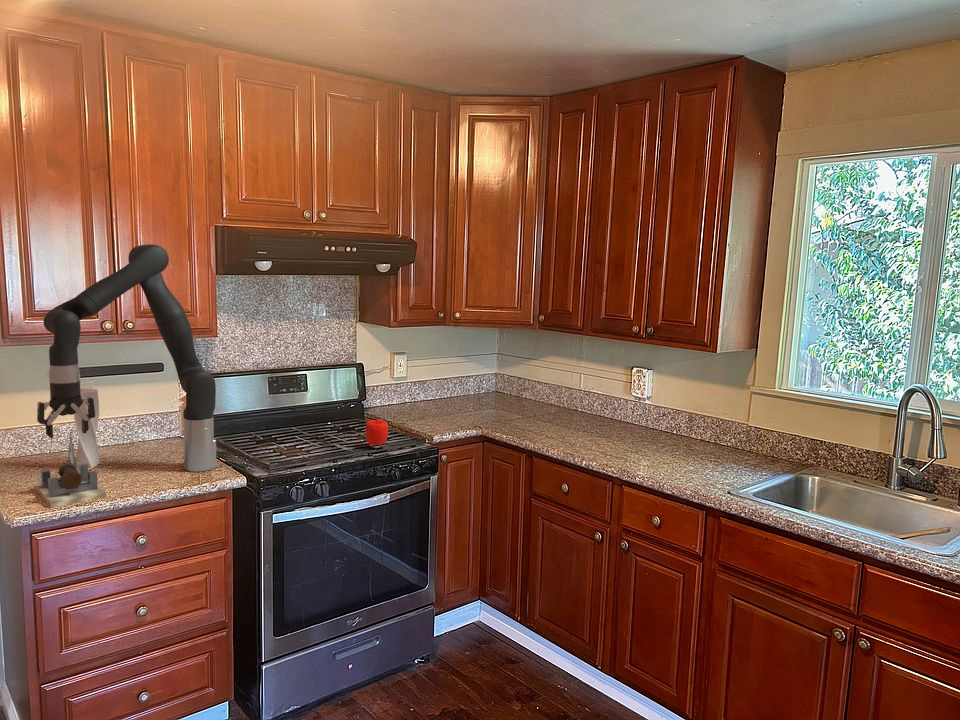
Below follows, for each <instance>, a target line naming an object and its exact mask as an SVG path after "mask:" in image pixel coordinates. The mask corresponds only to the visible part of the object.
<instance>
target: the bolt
mask: <svg viewBox="0 0 960 720" xmlns="http://www.w3.org/2000/svg"><path fill="white" fill-rule="evenodd" d="M57 473H58V475H59V476H60V477H61V478H60V480H59V482H60V483H61V484H62V486H63V487H64V488H65V489H75V488H78V487H79V485H80V484H81V482H82V480H83V477H82V476H81V475H80V474H79V470H77V469H76V467H75V466H74V465H73V464H69V463H63V464H61V466H60V468H59V470H58V471H57Z"/></svg>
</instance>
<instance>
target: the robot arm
mask: <svg viewBox="0 0 960 720" xmlns="http://www.w3.org/2000/svg"><path fill="white" fill-rule="evenodd" d="M169 260H170V257H169V254H168V252H167V251H166V249H165V248H164V247H162V246H161V245H158V244H151V243H150V244H139V245H137V246H134V247H133V248H131V250H130V251H129V253H128V263H127V264H126V265H125V266H123V267H122V268H120V269H119V270H117V271H115V272H113V273H112V274H109V275H108V276H106V277H104V278H102V279H100V280H98V281H96V282H95V283H93V284H92V285H90V286H89V287H87V288H85V289H84V290H83V291H82V292H80V293H78V295H76V296H75V297H74V298H71V299H68V300H67V301H65V302H62V303H61V304H59V305H57V306H55V307H54V308H52V309H50V310H49V311H48V312H47V313H46V314H45V316H44V317H43V321H42V322H43V327H44V328H45V329H46V330H47V332H49V333H52V334H53V343H52V345H50V346H49V348H48V349H49V350H48V357H49V358H48V359H49V360H48V361H49V369H48V379H49V395H50V399H49V401H45V402H44V401H38V402H37V407H36V410H37V413H36V414H37V419H36V421H37V423H38V424H40V425H45V435H46V436H47V437H48V438H49V439H53V438H54V429H53V428H54V426H53V422H54V421H55V420H56V419H58V417H59V416H62V417H64V416H67V415H70V416H72V415H73V416H74V414H75V413H77V414H78V415H79V416H80V417H81V418H82V420H81V423H82V433H87V431H88V430H89V425H88V421H89V419H91V418H94V417H95V408H94V400H93V398H91V397H87V398H84V399H82V398H81V385H80V384H81V374H80V366H79V353H78V347H79V344H80V337H81V332H82V331H81V330H82V329H81V328H82V327H81V320H83V319H85V318H90V317H93V316H95V315H96V314H98V313H99V312H100V311H102V310H103V309H104V308H107V307H108V306H109V305H110V304H111V303H113V302H114V301H115V300H117V299H118V298H120V297H121V296H123V294H125V293H127V292H128V291H129V290H131V289H132V288H134V287H136V286H137V285H139V286H140V288H141V290H142V291H143V294H144V296H145V298H146V301H147V304H148V306H149V308H150V311H151V314H152V316H153V319H154V322H155V324H156V326H157V329H158V332H159V333H160V336H161V337H162V340H163V342H164V344H165V346H166V348H167V351H168V353H169V354H170V356H171V358H172V362H173V363H174V366H175V367H174V368H175V369H176V373H177V376H178V380H179V384H180V386H181V389H182V390H183V391H184V393H185V395H186V397H185V398H186V399H185V400H186V402H185V404H186V405H185V408H184V409H183V411H182V415H183V416H182V417H183V467H184V468H183V469H184V471H188V472H205V471H209V470H212V469H215V468H217V440H216V439H215V437H214V433H215V431H214V427H215V425H214V412H215V409H216V397H217V396H216V395H217V394H216V391H217V388H216V387H217V385H216V379H215V378H214V376H213V374H211V373H210V372H208V371H207V370H205V369H204V367H203V366H202V363H201V361H200V360H199V358H198V356H197V354H196V353H197V352H196V349H195V344H194V343H195V342H194V337H193V330H192V327H191V324H190V321H189V319H188V316H187V313H186V311H185V310H184V308H183V306H182V304H181V303H180V302H179V301H178V299H177V298H176V296H175V295H174V294H173V293H172V292H171V290H170V289H169V288H168V286H167V285H166V282H165V279H164V277H163V275H162V272H164V271H165V270H166V269H167V268H168V265H169V262H170V261H169ZM83 402H84V403H85V405H87V406H88V414H87V415H85V414H84V413H83V412H82V411H81V410H80V409H79V408H80V406H81V405H82V403H83ZM49 407H50V408H51V412H49V414H48V416H47V417H46V419H45V411H46V410H47V409H48V408H49Z"/></svg>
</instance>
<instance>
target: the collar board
mask: <svg viewBox="0 0 960 720" xmlns="http://www.w3.org/2000/svg"><path fill="white" fill-rule="evenodd" d="M81 483H85V482H81ZM58 487H61V486H58ZM33 489H34V490H35V491H36V493H38V495H39V496H40V497H41V498H42V500H43V501H44V500H45V501H44V502H45V503H46V504H47V505H48V506H49V508H55V507H63V506H69V505H72V504H73V503H74V504H78V502H79V503H83V501H85V502H89V501H88V500H90V501H93V500H92V499H96V500H99V499H98V498H101V499H103V498H102V497H106V498H107V492H106V491H105V490H104V489H103V488H101V487H100V486H99V485H98V489H96V490H90V491H84V492H78V493H73V494H67V495H61V496H55V497H50V496H49V488H45V489H43V488H42V487H41V482H36V483H33Z"/></svg>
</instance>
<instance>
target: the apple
mask: <svg viewBox="0 0 960 720" xmlns="http://www.w3.org/2000/svg"><path fill="white" fill-rule="evenodd" d="M364 430H365V431H364V432H365V433H364V434H365V438H366V441H367V444H368V445H369V444H371V445H381V444H385V445H386V443H387V440H388V435H389V423H388V422H386V420H383V419H374V420H373V419H372V420H369V421H368V422H366V425H365V429H364Z"/></svg>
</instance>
